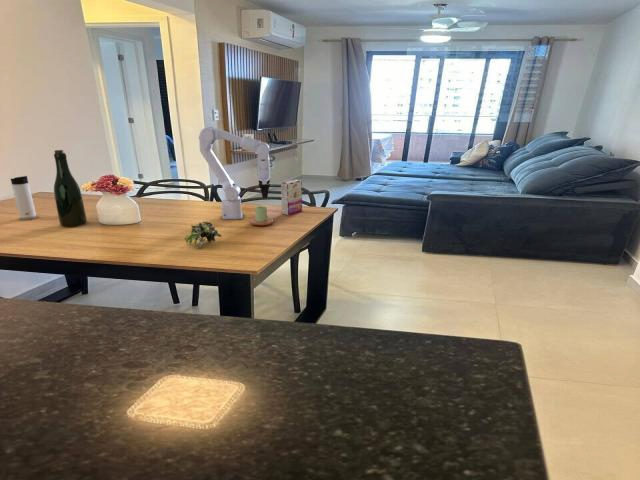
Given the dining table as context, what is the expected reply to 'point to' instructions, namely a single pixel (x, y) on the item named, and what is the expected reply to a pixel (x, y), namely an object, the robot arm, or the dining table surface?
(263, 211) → the jar
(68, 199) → the green wine bottle
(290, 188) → the candy bar box
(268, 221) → the stand
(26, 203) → the travel mug
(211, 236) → the green leafy plant
